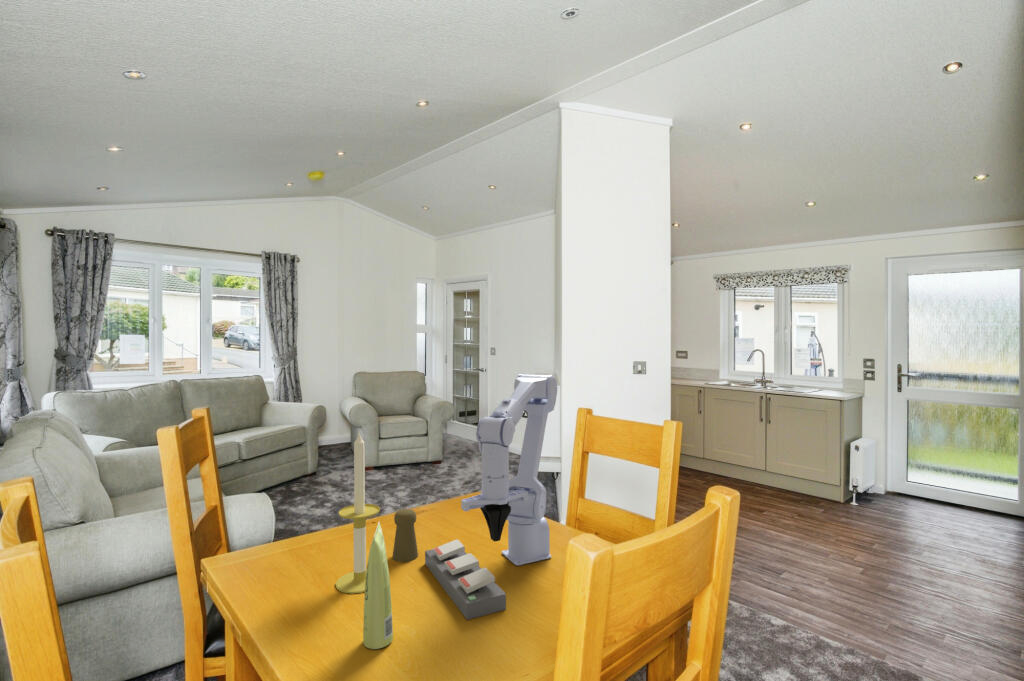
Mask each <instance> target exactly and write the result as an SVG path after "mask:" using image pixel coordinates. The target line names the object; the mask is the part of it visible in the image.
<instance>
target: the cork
mask: <svg viewBox="0 0 1024 681" xmlns="http://www.w3.org/2000/svg"><path fill="white" fill-rule="evenodd" d="M393 519H394V524H395V526H396V527H395V528H396V529H395V534H394V542H393V551H392V560H393V561H395V562H398V563H407V562H408V563H409V562H411V561H415V560H416V559H418V557H419V551H418V545H417V537H416V536H417V535H416V530H415V523H416V521H417V514H416V511H415V510H413V509H411V508H403V509H402V508H401V509H399V510H397V511H396V512H395V514H394V517H393Z"/></svg>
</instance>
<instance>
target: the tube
mask: <svg viewBox="0 0 1024 681" xmlns="http://www.w3.org/2000/svg"><path fill="white" fill-rule="evenodd" d="M388 564H389V563H388V557H387V550H386V542H385V538H384V533H383V529H382V526H381V523H380V521H378V523H377V526H376V530H375V532H374V535H373V538H372V541H371V544H370V548H369V552H368V559H367V563H366V570H367V572H366V582H365V592H364V600H363V601H364V602H363V636H362V638H363V645H364V646H365V647H366V648H368V649H370V650H378V649H382V648H384V647H387V646H388V645H390V644H391V643H392V641H393V640H394V638H393V636H394V634H393V633H394V632H393V611H392V610H393V609H392V608H393V607H392V606H393V604H392V595H391V594H392V593H391V582H390V570H389V565H388Z"/></svg>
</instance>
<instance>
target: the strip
mask: <svg viewBox="0 0 1024 681" xmlns="http://www.w3.org/2000/svg"><path fill="white" fill-rule="evenodd" d="M433 549H434V548H431V549H429V550H424V564H425V565H426V567H427V568H428V570H429V571H430V572H431V574H432V575H433V576H434V578H435V579H436V580H437V582H438V583H439V585H440V586H441V587H442V588H443V590H444V591H445V592H446V595H448V596H449V598H450V599H451V600H452V602H453V603H454V604H455V606H456V608H458V610H459V611H460V613H461V614H462V616H464V618H465V619H466V620H467V621H468V620H473V619H476V618H480V617H484V616H486V615H491V614H494V613H497V612H501V611H505V610H506V611H507V594H506V592H505V591H504V590H503V589H502V588H501V587H500V586H499V585H498V584H497V583H496V582H495V581H494V582H492V583H490V584H488V585H485V586H483V587H481V588H479V589H477V590H474V591H472V592H470V593H468V594H467V593H466V592H465V590H464V589H463V588H462V587H461V586H460V584H459V581H458V579H459V578H462V577H464V576H466V575H468V574H471V573H473V572H475V571H477V570H480V569H482V567H480V565H479V566H476V567H474V568H471V569H468V570H466V571H463V572H460V573H457V574H455V575H452V574H451V573H450V572H449V571H448V569H447V568H446V567H445V562H446V561H449V560H452V559H455V558H458V557H461V556H463V555H466V554H468V553H467V552H466V551H462V552H460V553H457V554H455V555H453V556H450V557H448V558H445V559H443V560H441V561H440V560H439V559H438V558H437V556H436V555H435V554H434V552H433Z"/></svg>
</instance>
